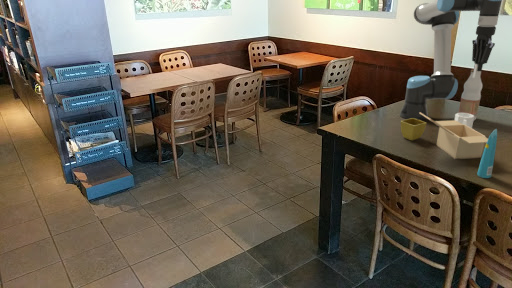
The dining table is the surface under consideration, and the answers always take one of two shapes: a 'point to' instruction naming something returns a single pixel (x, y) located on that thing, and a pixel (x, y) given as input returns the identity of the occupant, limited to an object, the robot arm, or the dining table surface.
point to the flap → (436, 123)
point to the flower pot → (412, 128)
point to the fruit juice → (471, 96)
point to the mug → (465, 119)
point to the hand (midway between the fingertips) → (476, 77)
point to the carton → (460, 140)
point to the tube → (488, 156)
